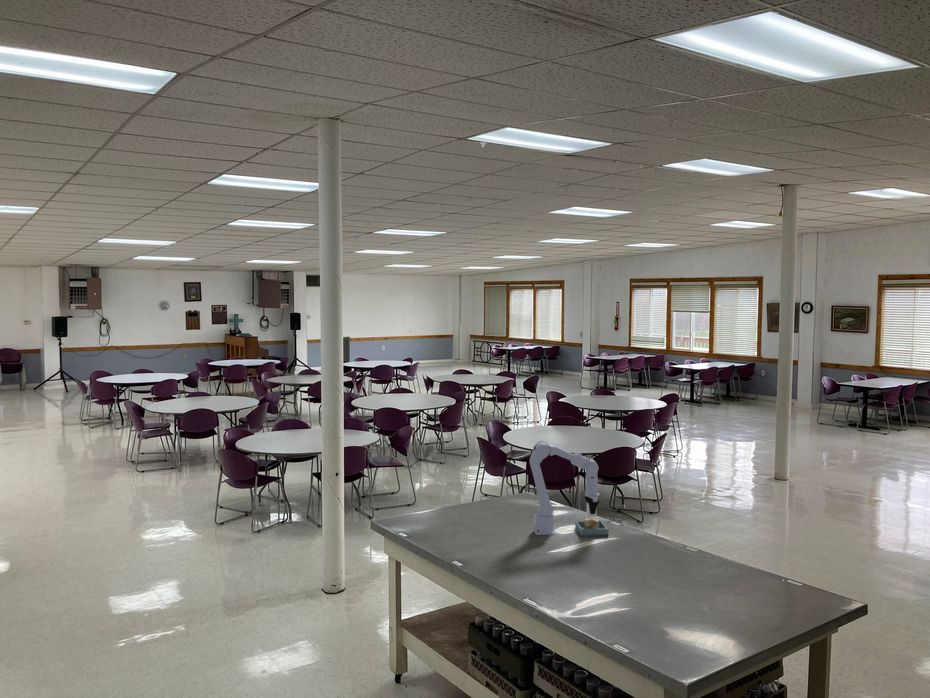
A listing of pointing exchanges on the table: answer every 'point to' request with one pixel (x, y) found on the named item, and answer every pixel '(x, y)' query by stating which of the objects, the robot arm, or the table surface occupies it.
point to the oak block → (591, 523)
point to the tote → (591, 530)
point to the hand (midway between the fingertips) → (591, 512)
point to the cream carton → (589, 512)
